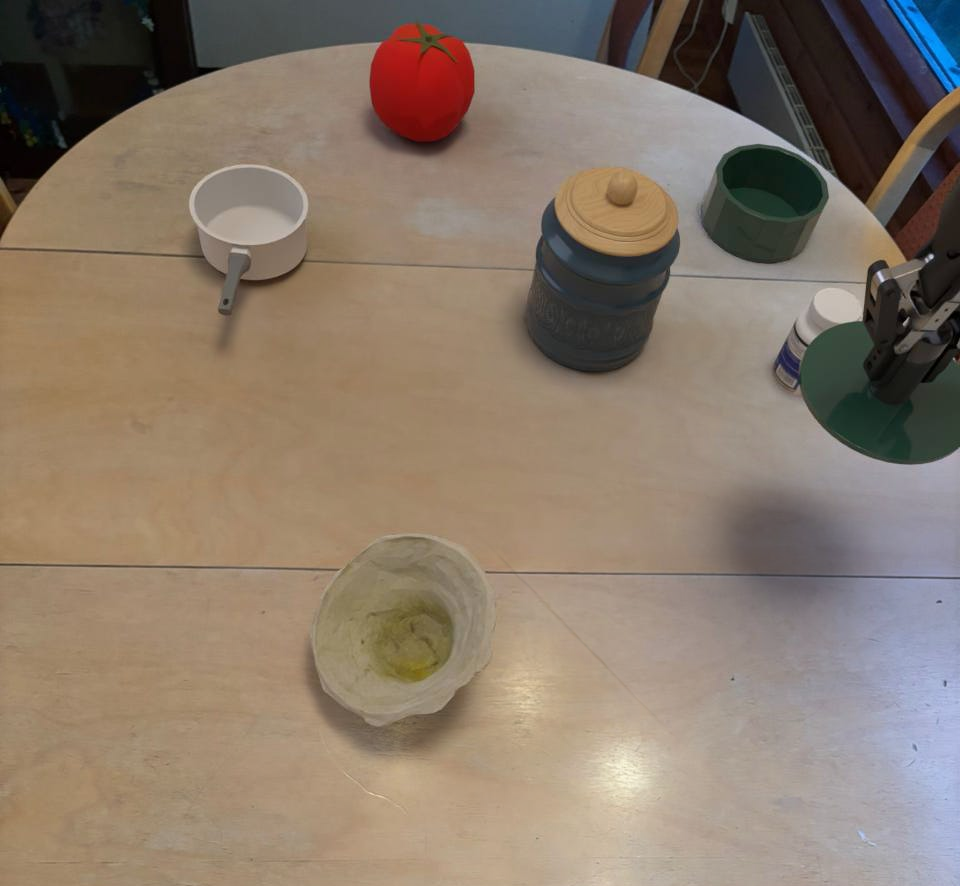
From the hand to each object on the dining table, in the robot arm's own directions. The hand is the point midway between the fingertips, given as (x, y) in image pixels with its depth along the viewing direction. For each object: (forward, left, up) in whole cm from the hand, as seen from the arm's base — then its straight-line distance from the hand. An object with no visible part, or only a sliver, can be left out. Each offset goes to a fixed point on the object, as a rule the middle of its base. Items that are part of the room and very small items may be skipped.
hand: (897, 375), depth 69 cm
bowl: (+36, -12, -22) cm, 44 cm away
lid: (0, 0, -2) cm, 2 cm away
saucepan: (+21, -55, -22) cm, 63 cm away
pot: (-30, -30, -21) cm, 47 cm away
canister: (-3, -30, -22) cm, 37 cm away
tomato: (-9, -64, -22) cm, 68 cm away
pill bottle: (-16, -12, -22) cm, 29 cm away
